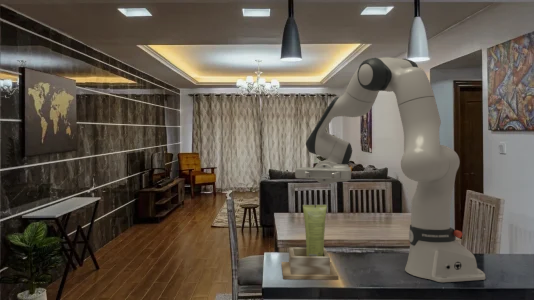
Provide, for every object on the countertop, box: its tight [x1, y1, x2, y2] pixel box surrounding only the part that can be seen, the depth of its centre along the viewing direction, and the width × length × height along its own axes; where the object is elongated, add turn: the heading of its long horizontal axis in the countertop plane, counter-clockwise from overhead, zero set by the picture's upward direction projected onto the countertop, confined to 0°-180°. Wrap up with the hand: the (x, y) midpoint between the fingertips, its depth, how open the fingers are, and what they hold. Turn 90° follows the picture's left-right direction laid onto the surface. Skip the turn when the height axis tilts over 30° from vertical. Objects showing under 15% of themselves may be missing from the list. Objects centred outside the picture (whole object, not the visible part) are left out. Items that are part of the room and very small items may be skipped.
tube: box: [302, 204, 328, 257], centre depth 131 cm, size 6×5×20 cm
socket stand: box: [281, 246, 339, 281], centre depth 131 cm, size 16×14×6 cm
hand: (320, 175), depth 149 cm, fingers open, 8 cm apart
